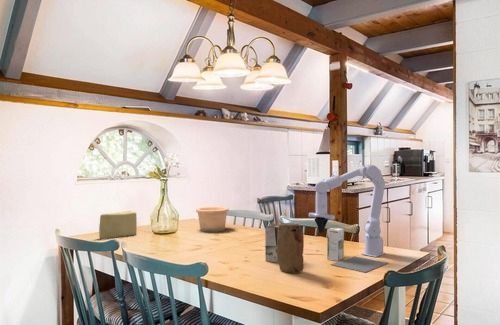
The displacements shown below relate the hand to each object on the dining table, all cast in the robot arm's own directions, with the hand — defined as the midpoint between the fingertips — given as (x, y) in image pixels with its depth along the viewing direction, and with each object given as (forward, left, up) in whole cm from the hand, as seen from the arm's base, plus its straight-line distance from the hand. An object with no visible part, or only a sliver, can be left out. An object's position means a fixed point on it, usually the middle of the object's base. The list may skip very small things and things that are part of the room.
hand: (321, 232), depth 194 cm
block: (+33, +8, -11) cm, 36 cm away
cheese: (+52, -118, -11) cm, 129 cm away
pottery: (-4, -92, -11) cm, 93 cm away
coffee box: (+24, -9, -11) cm, 28 cm away
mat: (+4, +24, -11) cm, 26 cm away
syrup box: (+4, +11, -11) cm, 16 cm away
